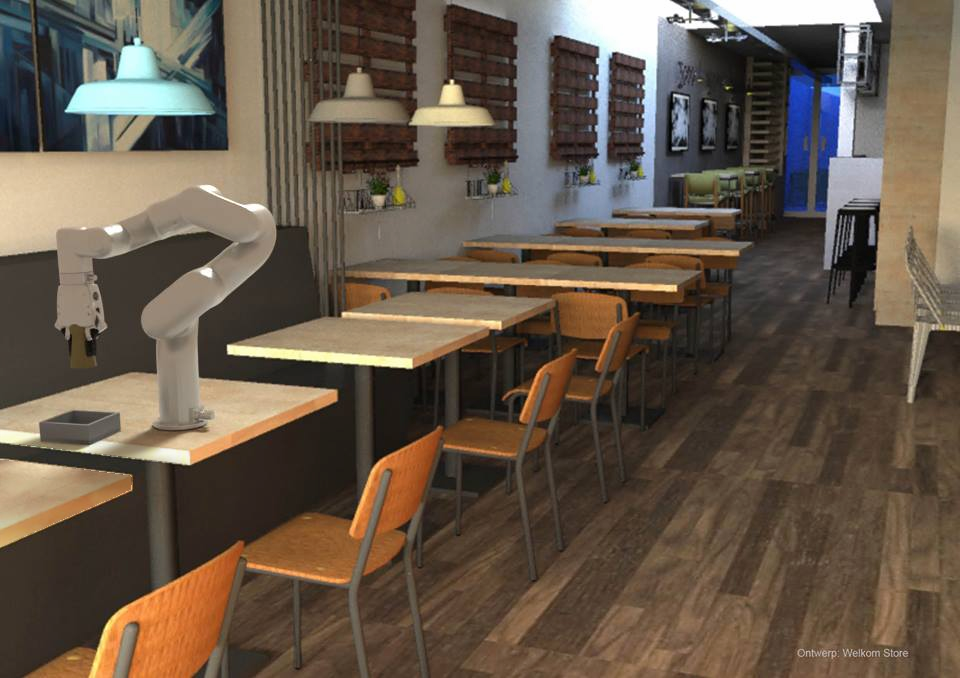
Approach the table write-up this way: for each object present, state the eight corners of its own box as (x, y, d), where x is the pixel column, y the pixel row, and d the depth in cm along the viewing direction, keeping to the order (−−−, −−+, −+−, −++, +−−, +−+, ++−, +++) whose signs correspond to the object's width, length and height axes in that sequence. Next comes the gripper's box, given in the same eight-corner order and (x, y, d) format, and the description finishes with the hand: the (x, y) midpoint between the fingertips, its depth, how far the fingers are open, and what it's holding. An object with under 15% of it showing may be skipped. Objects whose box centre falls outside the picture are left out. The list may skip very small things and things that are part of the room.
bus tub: (120, 430, 254) (119, 412, 253) (89, 445, 242) (88, 425, 241) (73, 427, 257) (72, 409, 256) (40, 441, 245) (39, 422, 244)
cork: (68, 369, 255) (64, 323, 253) (72, 364, 261) (68, 319, 259) (95, 367, 256) (91, 322, 254) (98, 363, 262) (94, 318, 260)
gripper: (116, 278, 256) (122, 353, 259) (56, 277, 261) (63, 351, 264) (97, 281, 249) (104, 359, 252) (36, 280, 254) (43, 357, 257)
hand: (83, 354), depth 258 cm, fingers closed on cork, 3 cm apart
